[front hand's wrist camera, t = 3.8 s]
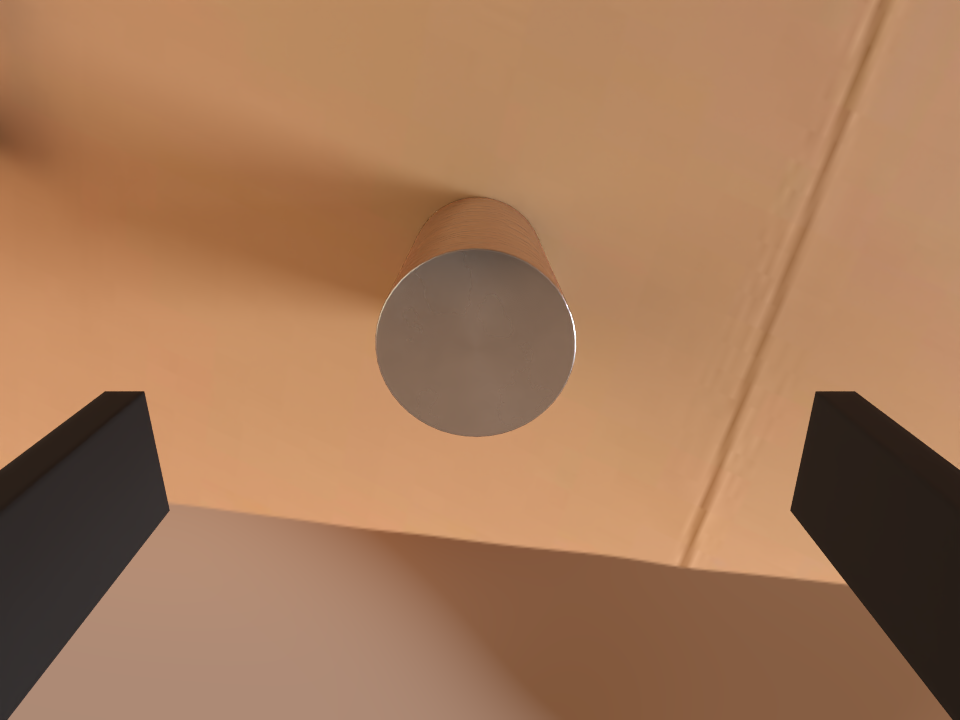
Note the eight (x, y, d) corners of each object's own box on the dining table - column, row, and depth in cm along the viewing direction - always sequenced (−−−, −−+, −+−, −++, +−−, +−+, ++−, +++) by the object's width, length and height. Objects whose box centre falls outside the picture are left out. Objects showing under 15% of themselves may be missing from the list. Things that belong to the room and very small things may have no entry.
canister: (522, 338, 29) (543, 455, 19) (400, 309, 29) (358, 413, 19) (558, 216, 27) (603, 277, 17) (427, 182, 27) (396, 225, 17)
